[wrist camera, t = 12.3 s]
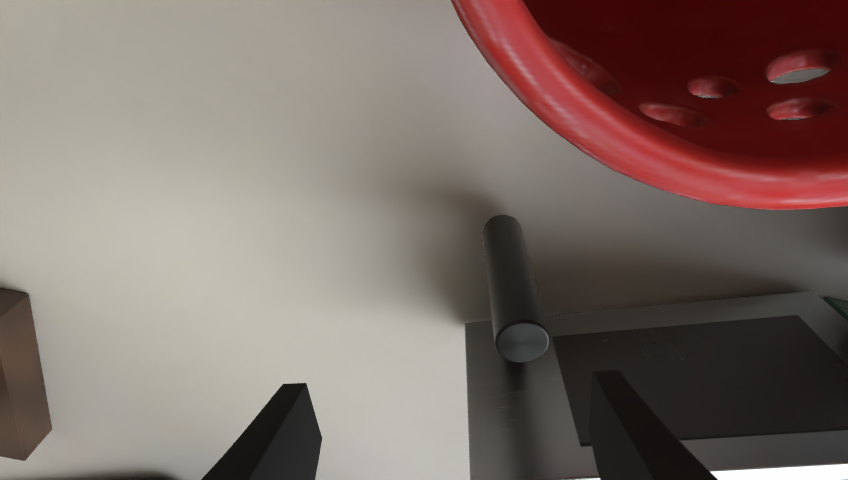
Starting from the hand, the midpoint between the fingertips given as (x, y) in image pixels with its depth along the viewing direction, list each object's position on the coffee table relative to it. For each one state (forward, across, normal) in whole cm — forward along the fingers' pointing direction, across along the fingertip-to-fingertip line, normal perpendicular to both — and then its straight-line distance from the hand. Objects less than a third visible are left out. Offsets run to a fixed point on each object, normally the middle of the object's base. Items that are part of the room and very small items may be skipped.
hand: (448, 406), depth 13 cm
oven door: (+10, -8, +2) cm, 13 cm away
